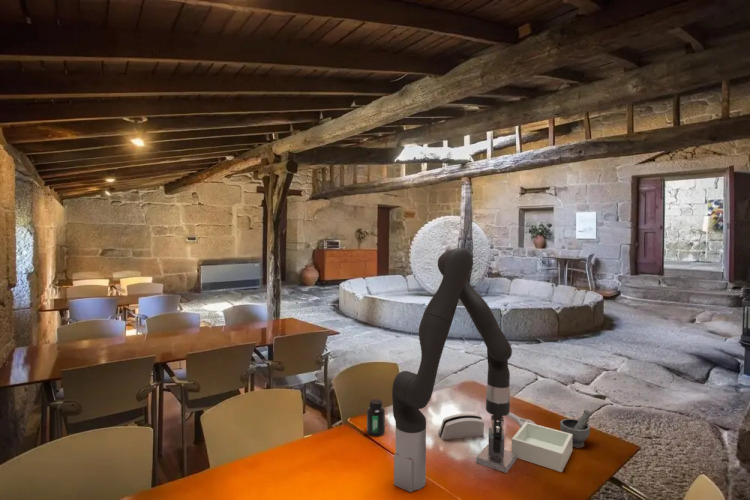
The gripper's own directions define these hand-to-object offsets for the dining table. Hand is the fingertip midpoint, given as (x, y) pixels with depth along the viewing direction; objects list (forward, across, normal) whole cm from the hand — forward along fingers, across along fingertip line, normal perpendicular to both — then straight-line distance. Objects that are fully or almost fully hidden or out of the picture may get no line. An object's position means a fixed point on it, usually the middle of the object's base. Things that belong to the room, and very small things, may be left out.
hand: (496, 448), depth 136 cm
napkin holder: (+5, -15, -12) cm, 20 cm away
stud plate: (+5, 0, 0) cm, 5 cm away
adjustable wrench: (+5, -38, +7) cm, 39 cm away
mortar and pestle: (+5, -21, +28) cm, 35 cm away
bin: (+4, -10, +15) cm, 19 cm away
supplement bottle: (+5, -9, -44) cm, 45 cm away
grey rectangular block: (+1, 0, 0) cm, 1 cm away
